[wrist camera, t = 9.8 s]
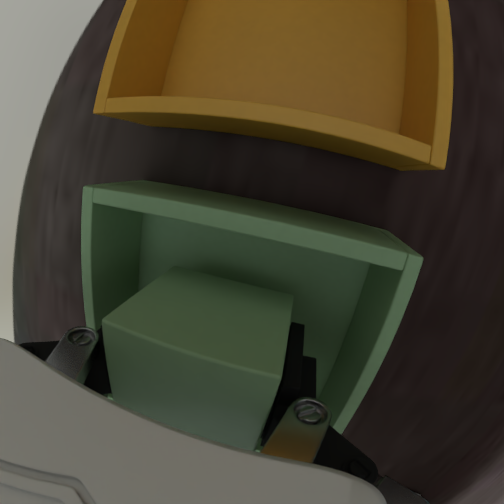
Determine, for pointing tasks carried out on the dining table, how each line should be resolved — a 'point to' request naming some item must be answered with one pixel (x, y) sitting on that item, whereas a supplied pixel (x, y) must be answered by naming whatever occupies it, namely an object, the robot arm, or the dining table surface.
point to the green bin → (257, 269)
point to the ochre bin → (290, 73)
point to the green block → (200, 354)
